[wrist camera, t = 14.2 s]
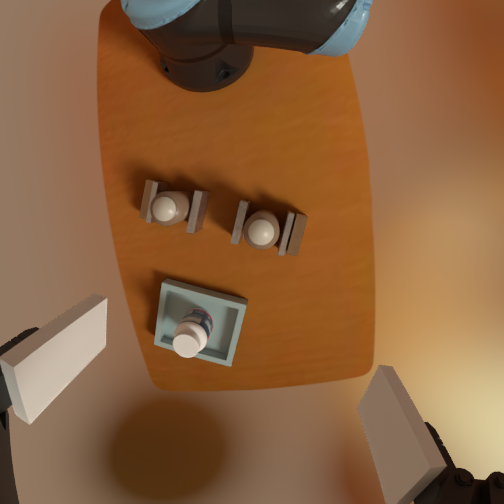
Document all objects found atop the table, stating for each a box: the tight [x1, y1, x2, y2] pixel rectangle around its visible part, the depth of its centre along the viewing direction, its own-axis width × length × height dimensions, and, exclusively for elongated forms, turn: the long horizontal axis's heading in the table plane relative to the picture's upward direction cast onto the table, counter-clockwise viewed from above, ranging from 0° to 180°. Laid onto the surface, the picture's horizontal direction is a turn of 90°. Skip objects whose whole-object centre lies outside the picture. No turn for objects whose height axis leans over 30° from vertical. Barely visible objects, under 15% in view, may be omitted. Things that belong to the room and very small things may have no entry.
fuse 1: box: [150, 191, 194, 226], centre depth 42 cm, size 5×5×9 cm
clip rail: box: [139, 180, 308, 256], centre depth 44 cm, size 6×25×5 cm, turn 77°
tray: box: [154, 278, 248, 367], centre depth 49 cm, size 12×14×2 cm
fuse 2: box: [243, 209, 279, 249], centre depth 42 cm, size 5×5×9 cm
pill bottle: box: [173, 308, 214, 358], centre depth 45 cm, size 5×5×9 cm
